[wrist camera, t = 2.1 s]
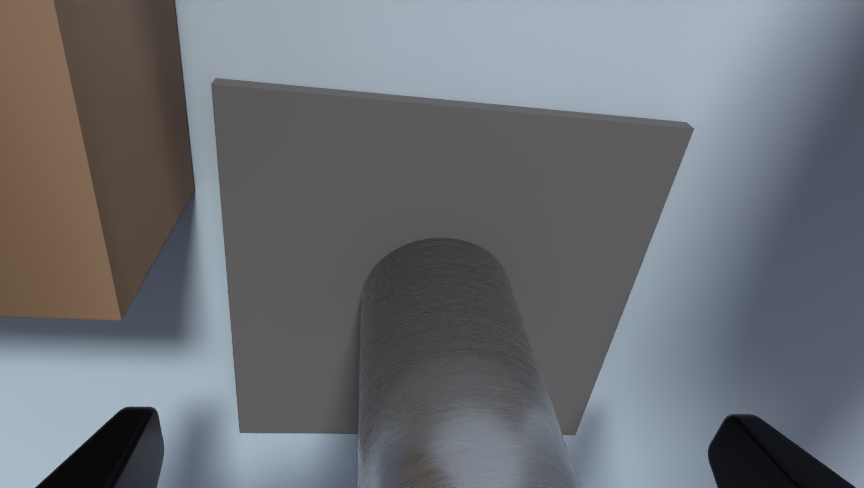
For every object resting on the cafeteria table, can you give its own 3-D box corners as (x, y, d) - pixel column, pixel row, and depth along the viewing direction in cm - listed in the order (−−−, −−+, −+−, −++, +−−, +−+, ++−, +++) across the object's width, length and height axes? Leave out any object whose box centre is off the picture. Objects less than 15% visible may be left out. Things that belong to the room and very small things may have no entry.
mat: (685, 122, 10) (694, 128, 10) (571, 425, 14) (575, 435, 14) (215, 78, 9) (211, 84, 9) (242, 422, 13) (239, 433, 13)
